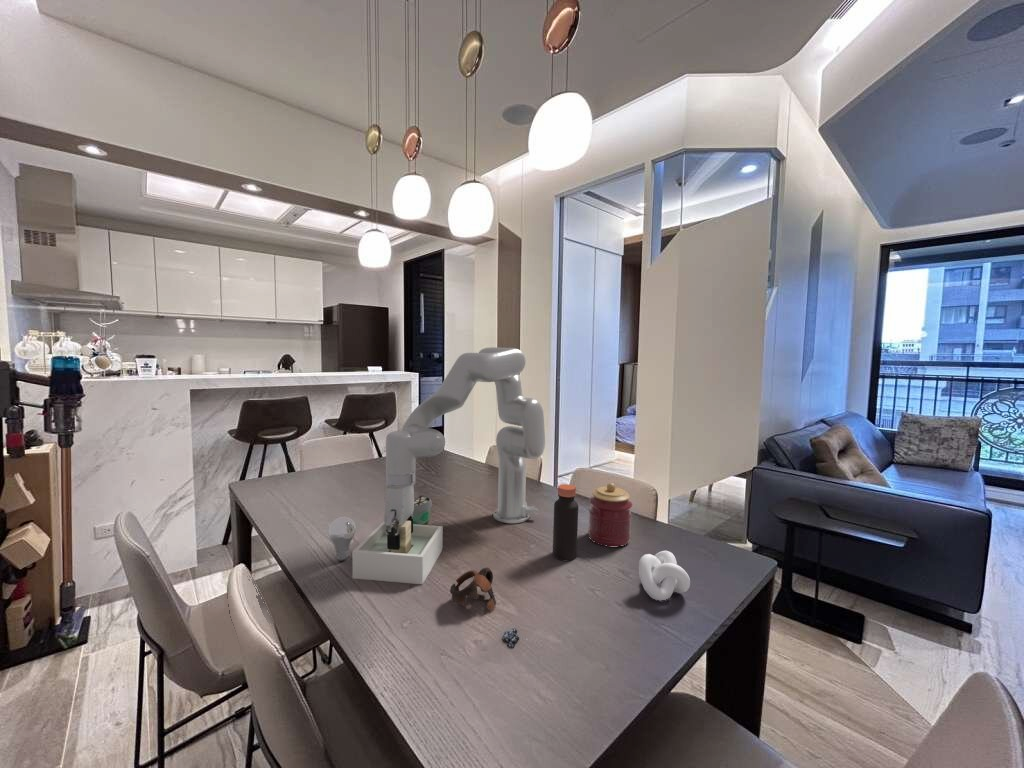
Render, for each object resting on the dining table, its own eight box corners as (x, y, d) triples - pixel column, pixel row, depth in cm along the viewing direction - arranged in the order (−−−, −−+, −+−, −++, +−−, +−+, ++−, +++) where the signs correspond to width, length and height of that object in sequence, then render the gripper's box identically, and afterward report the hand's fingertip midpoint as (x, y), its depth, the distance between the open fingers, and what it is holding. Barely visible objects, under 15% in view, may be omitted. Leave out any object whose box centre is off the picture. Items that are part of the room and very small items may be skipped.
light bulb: (361, 556, 115) (361, 514, 114) (343, 569, 109) (343, 524, 108) (341, 552, 117) (340, 510, 116) (322, 564, 111) (321, 520, 110)
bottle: (562, 547, 123) (564, 481, 122) (581, 555, 119) (583, 487, 117) (547, 554, 119) (549, 486, 117) (566, 564, 114) (569, 492, 112)
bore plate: (438, 547, 119) (438, 537, 119) (420, 577, 104) (420, 566, 103) (384, 543, 121) (384, 533, 121) (358, 572, 105) (358, 561, 105)
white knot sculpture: (629, 577, 108) (631, 543, 107) (676, 578, 108) (678, 545, 107) (641, 603, 97) (643, 566, 96) (693, 605, 97) (696, 568, 96)
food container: (422, 540, 126) (422, 508, 125) (403, 538, 127) (403, 506, 126) (437, 524, 138) (437, 494, 137) (420, 522, 139) (420, 492, 138)
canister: (638, 538, 130) (640, 483, 129) (617, 552, 121) (620, 493, 119) (601, 526, 139) (603, 474, 138) (579, 538, 130) (581, 482, 128)
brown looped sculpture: (489, 624, 89) (470, 593, 88) (457, 628, 94) (438, 599, 93) (510, 582, 100) (493, 554, 99) (480, 588, 104) (463, 561, 103)
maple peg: (410, 556, 114) (411, 520, 113) (405, 563, 110) (405, 527, 109) (396, 555, 115) (396, 519, 114) (391, 562, 111) (391, 526, 110)
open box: (442, 549, 120) (442, 526, 120) (422, 584, 103) (422, 556, 102) (382, 545, 122) (382, 521, 122) (352, 578, 104) (352, 551, 104)
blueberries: (528, 630, 88) (529, 621, 88) (532, 655, 80) (532, 645, 80) (496, 630, 88) (497, 621, 88) (496, 655, 80) (496, 645, 80)
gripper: (399, 468, 119) (399, 526, 121) (372, 487, 102) (373, 555, 104) (424, 469, 119) (424, 527, 120) (402, 489, 101) (402, 557, 103)
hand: (400, 540), depth 112 cm, fingers open, 9 cm apart
